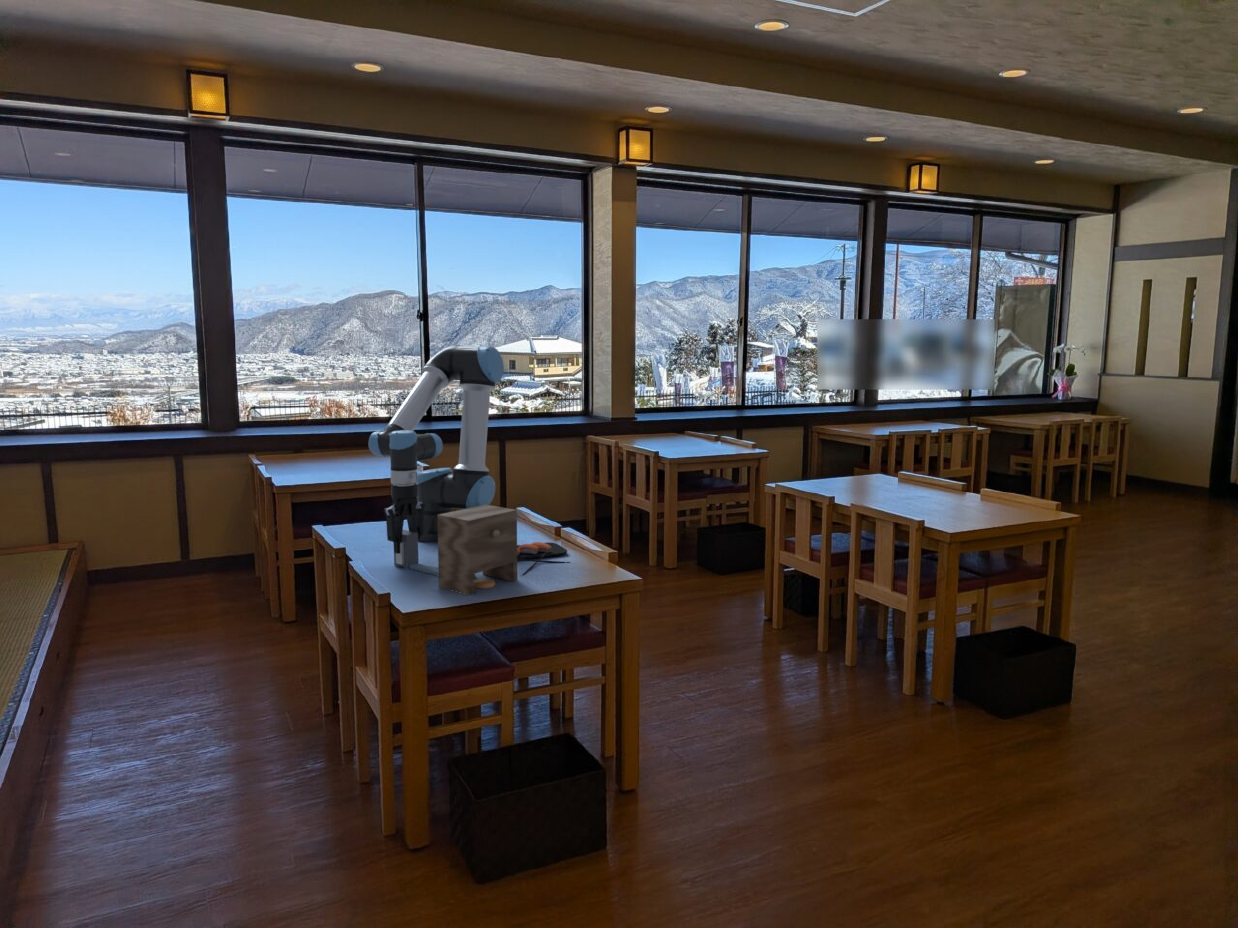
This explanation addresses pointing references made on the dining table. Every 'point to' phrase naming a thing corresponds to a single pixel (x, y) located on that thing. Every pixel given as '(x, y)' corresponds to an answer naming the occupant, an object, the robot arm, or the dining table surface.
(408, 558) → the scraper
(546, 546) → the sushi plate
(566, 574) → the dining table surface
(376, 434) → the robot arm
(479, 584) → the puck
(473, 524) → the cabinet
